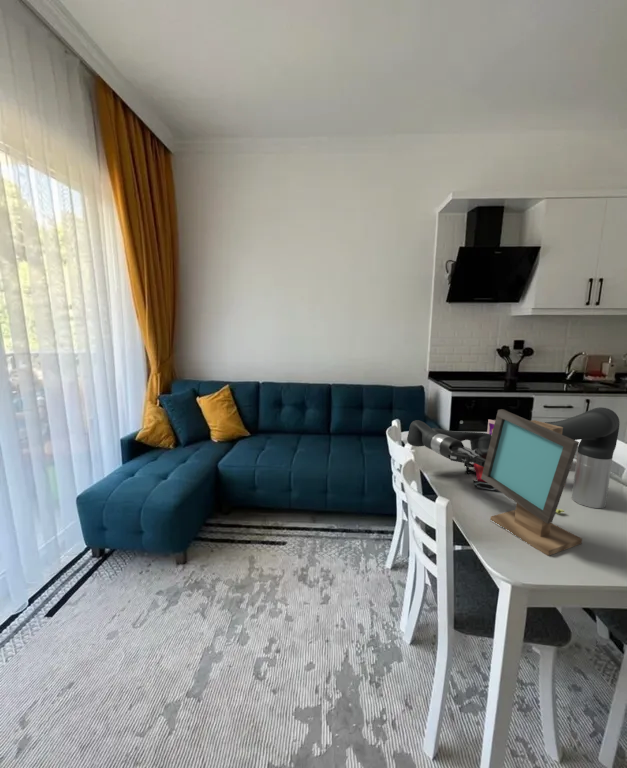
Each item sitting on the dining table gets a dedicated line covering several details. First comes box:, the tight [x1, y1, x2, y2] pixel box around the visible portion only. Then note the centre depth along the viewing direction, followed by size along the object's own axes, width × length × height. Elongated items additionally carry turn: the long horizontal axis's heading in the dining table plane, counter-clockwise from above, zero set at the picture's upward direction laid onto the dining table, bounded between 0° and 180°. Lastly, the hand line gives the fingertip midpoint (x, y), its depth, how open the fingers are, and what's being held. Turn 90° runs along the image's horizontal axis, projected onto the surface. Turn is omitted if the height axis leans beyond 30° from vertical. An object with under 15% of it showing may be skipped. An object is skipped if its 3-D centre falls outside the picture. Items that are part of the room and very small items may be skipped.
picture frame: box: [481, 408, 580, 524], centre depth 97 cm, size 2×22×24 cm, turn 22°
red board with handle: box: [463, 463, 500, 492], centre depth 140 cm, size 30×3×15 cm
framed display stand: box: [489, 419, 583, 557], centre depth 98 cm, size 14×18×33 cm
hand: (486, 464), depth 109 cm, fingers closed
